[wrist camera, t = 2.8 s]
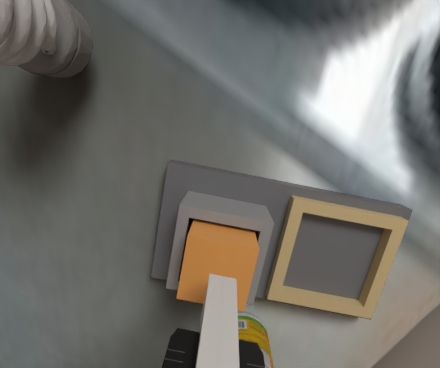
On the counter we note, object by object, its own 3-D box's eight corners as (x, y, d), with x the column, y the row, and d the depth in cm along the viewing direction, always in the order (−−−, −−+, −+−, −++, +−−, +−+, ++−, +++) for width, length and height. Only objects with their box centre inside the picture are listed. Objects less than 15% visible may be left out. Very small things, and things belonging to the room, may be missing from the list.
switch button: (185, 270, 21) (176, 298, 17) (194, 216, 20) (187, 235, 16) (241, 280, 21) (244, 311, 17) (254, 228, 20) (259, 249, 16)
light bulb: (125, 43, 21) (-4, -59, 9) (91, 101, 22) (-64, 73, 10) (66, -3, 20) (-152, -176, 9) (33, 58, 22) (-199, -22, 10)
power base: (155, 268, 25) (135, 306, 20) (171, 159, 23) (154, 170, 18) (362, 308, 26) (398, 356, 20) (400, 204, 23) (452, 228, 18)
